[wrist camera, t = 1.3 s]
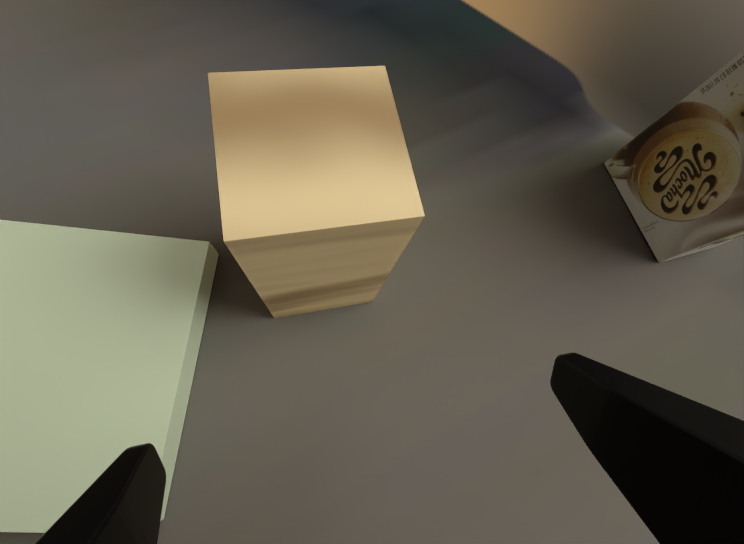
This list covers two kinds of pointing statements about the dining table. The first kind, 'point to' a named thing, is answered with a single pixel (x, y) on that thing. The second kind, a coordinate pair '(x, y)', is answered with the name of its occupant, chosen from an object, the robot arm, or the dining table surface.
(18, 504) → the sage baseplate
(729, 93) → the coffee box
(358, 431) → the dining table surface
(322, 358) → the dining table surface
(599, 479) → the dining table surface
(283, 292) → the oak brick
